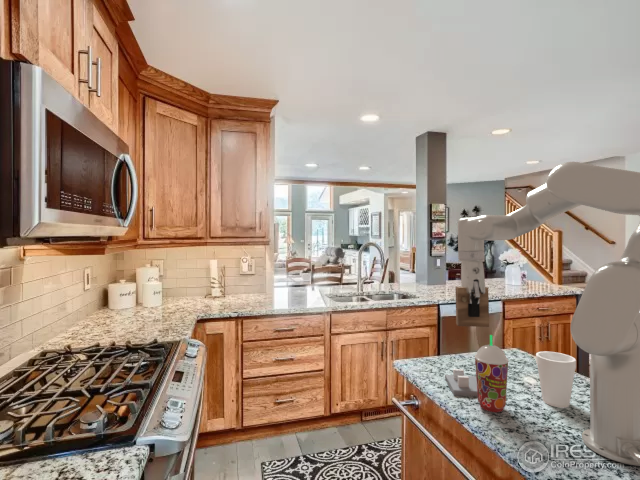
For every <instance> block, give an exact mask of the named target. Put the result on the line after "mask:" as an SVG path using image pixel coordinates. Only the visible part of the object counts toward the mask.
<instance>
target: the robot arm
mask: <svg viewBox="0 0 640 480" xmlns="http://www.w3.org/2000/svg"><path fill="white" fill-rule="evenodd" d="M525 203H526V204H525V205H524V206H522V207H520V208H518V209H517V210H515V211H513V212H510V213H508V214H506V215H503V214H484V215H478V216H475V217H473V216H472V217H471V216H470V217H462V218H459V219H458V220H457V247H458V248H457V251H458V252H457V253H458V254H457V257H458V262H461V266H460V268H461V269H460V283H461V284H460V286H463V287H465V288H466V292H467V293H469V304H468V316H469V317H479V316H480V308H479V298H480V293H479V288H480V292H481V294H484V293H485V287H486V283H485V282H486V279H485V269H484V263H483V262H485V241H509V240H513V239H516V238H518V237H521V236H523V235H525V234H528V233H530V232H532V231H534V230H536V229H538V228H539V227H541V226H542V225H543V224H544V223H545V222H546V221H548V220H550V219H552V218H555V217H557V216H560V215H561V214H563V213H565V212H568V211H570V210H572V209H575V208H577V207H580V206H586V207H590V208H595V209H596V210H597V209H598V210H601V211H605V212H610V213H614V214H617V215H618V214H620V215H625V216H626V215H627V216H628V215H629V216H630V215H631V216H638V217H640V171H639V172H638V171H633V170H632V171H631V170H627V169H619V168H613V167H607V166H606V167H605V166H600V165H594V164H590V163H584V162H580V161H566V162H564V163H561V164H559V165H557V166H555V167H554V168H553V169H552V170H551V171H550V173H549V174H548V175H547V178H546V181H545V183H544V184H542V185H540V186H538V187H536V188H534V189H532V190H531V191H529V192H528V193H527V195H526V197H525ZM471 292H474V294H473V293H471ZM570 334H571V338H572V339H573V340H572V341H574V343H575V344H576V345H577V347H578V348H580V349H581V350H582V351H584V352H586V353H587V354H590V362H589V364H590V365H589V367H590V368H589V371H590V372H589V409H590V410H589V412H590V413H589V416H590V417H589V418H590V421H589V423H590V424H589V425H590V426H589V428H587V429H585V430H583V432H582V433H581V440H582V443H584V445H585V446H586V447H588V449H590V450H592V451H593V452H594V453H596V454H598V455H600V456H602V457H605V458H607V459H609V460H612V461H614V462H618V463H621V464H625V465H630V466H637V467H640V222H639V223H638V225H637V227H635V229H634V231H633V232H632V233H631V236H630V237H629V239H628V241H627V244H626V247H625V249H624V250H623V253H622V255H621V257H620V258H619V260H618V261H611V262H609V263H605V264H603V265H602V266H600V267H598V268H597V269H596V270H595V271H594V272H593V273H592V274H591V276H590V277H589V279H588V281H587V282H586V285H585V288H584V290H583V291H582V294H581V297H580V299H579V302H578V304H577V306H576V308H575V311H574V313H573V316H572V318H571V322H570Z"/></svg>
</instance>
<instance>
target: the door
mask: <svg viewBox="0 0 640 480" xmlns="http://www.w3.org/2000/svg"><path fill="white" fill-rule="evenodd" d="M471 293H473V294H474V292H471ZM479 293H480V298H479V308H480V316H479V317H469V316H468V304H469V293H467V292H466V288H465V287H463V286H461V285H460V286H459V285H457V286H455V324H456V326H458V327H476V328H478V327H480V328H481V327H482V328H487V327H488V328H489V327H490V305H489V301H490V300H489V299H490V298H489V296H490V295H489V287H488V286H485V293H484V294H481V292H480V288H479Z"/></svg>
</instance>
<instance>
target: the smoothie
mask: <svg viewBox="0 0 640 480" xmlns="http://www.w3.org/2000/svg"><path fill="white" fill-rule="evenodd" d="M474 362H475V364H474V365H475V376H476V379H477V394H478V397H477V401H478V403H479V405H480V407H481V409H483V410H484V411H487V412H490V413H501V412H503V411H504V408H505V407H506V403H507V388H508V387H507V385H508V373H509V372H508V370H509V359H508V358H507V355H506V353H505V352H504V350H502V348H500V347H498V346H497V345H495V344H493V334H489V344H485V345H482V346H480V348H478V350H477V351H476V353H475V355H474Z"/></svg>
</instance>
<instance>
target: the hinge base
mask: <svg viewBox="0 0 640 480" xmlns="http://www.w3.org/2000/svg"><path fill="white" fill-rule="evenodd" d="M452 372H453V373H452V374H444V380H445V382H446V384H447V386H448V387H449V389H450V392H451V393H452V395H453V396H461V397H477V398H478V394H477V379H476V375H465V371H464V369H463V368H452Z"/></svg>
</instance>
